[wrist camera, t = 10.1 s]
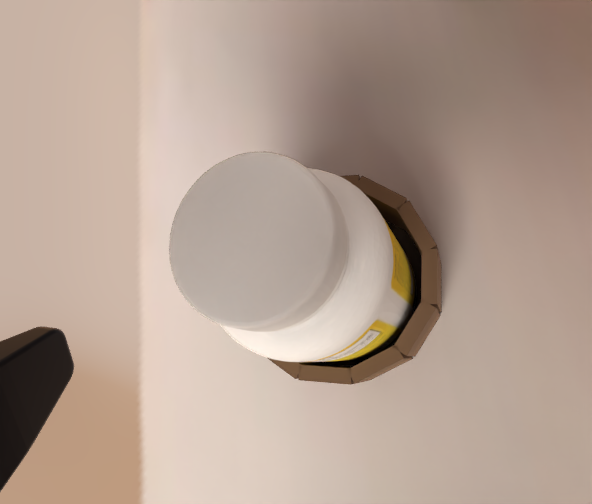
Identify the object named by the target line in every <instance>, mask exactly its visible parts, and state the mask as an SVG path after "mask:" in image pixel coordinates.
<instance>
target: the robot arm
mask: <svg viewBox="0 0 592 504" xmlns="http://www.w3.org/2000/svg"><path fill="white" fill-rule="evenodd" d="M73 370H74V363H73V360H72V356H71V353H70V350H69V347H68V344H67V340H66V337H65V335H64V333H63V332H62V331H61V330H59V329H57V328H49V327H36V328H34V329H31V330H28V331H26V332H24V333H21V334H19V335H16V336H13V337H11V338H8V339H6V340H3V341H1V342H0V492H1V490H2V489H3V487H4V486H5V484H6V483H7V482H8V480H9V479H10V477H11V476H12V474H13V473H14V472H15V470H16V469H17V467H18V466H19V464H20V463H21V461H22V460H23V459H24V457H25V456H26V454H27V453H28V451H29V449H30V448H31V446H32V444H33V443H34V441H35V440H36V438H37V436H38V434H39V432H40V431H41V429H42V427H43V426H44V424H45V422H46V420H47V419H48V417H49V415H50V413H51V412H52V410H53V408H54V407H55V405H56V403H57V401H58V399H59V398H60V396H61V394H62V393H63V391H64V389H65V387H66V386H67V384H68V382H69V381H70V379H71V377H72V374H73Z"/></svg>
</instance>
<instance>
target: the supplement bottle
mask: <svg viewBox="0 0 592 504" xmlns="http://www.w3.org/2000/svg"><path fill="white" fill-rule="evenodd" d="M169 254H170V264H171V269H172V273H173V276H174V279H175V282H176V284H177V286H178V288H179V290H180V292H181V293H182V295H183V296H184V298H185V299H186V300H187V302H188V303H189V304H190V305H191V306H192V307H193V308H194V309H195V310H196V311H197V312H199V313H200V314H201V315H202V316H204V317H206V318H207V319H209V320H211V321H213V322H215V323H217V324H220V325H221V326H222V328H223V329H224V330H225V331H226V332H227V333H228V334H229V335H230V337H232V338H233V339H234V340H235V341H236V342H238V343H239V344H240V345H241V346H243V347H245V348H246V349H248V350H250V351H252V352H254V353H256V354H259V355H261V356H264V357H267V358H270V359H274V360H280V361H286V362H323V361H353V360H360V359H364V358H368V357H371V356H373V355H376V354H378V353H380V352H382V351H383V350H385V349H387V348H388V347H389V346H391V345H392V344H393V343H394V342H395V341H396V340H397V339H398V338H399V337H400V335H401V333H402V332H403V330H404V329H405V327H406V325H407V324H408V322H409V320H410V319H411V317H412V315H413V312H414V308H415V303H416V293H417V290H416V280H415V275H414V271H413V268H412V266H411V263H410V261H409V259H408V257H407V255H406V254H405V252H404V250H403V249H402V247H401V246H400V244H399V243H398V241H397V239H396V238H395V236H394V235H393V233H392V231H391V230H390V228H389V226H388V225H387V223H386V221H385V220H384V218H383V217H382V215H381V214H380V212H379V211H378V209H377V207H376V206H375V205H374V204H373V203H372V201H371V200H370V199H369V198H368V197H367V196H366V195H365V194H364V193H363V192H362V191H361V190H360V189H359V188H358V187H356V186H355V185H353V184H352V183H351V182H349V181H347V180H346V179H344V178H342V177H340V176H338V175H335V174H333V173H329V172H326V171H323V170H318V169H313V168H306V167H305V166H304V165H302V164H301V163H299V162H297V161H296V160H294V159H292V158H289V157H287V156H284V155H280V154H276V153H271V152H250V153H245V154H240V155H236V156H233V157H231V158H228V159H226V160H224V161H222V162H220V163H218V164H217V165H215V166H213V167H212V168H211V169H209V170H208V171H207V172H205V173H204V174H203V175H202V176H201V177H200V178H199V179H198V180H197V181H196V182H195V183H194V184H193V186H192V187H191V188H190V189H189V191H188V192H187V194H186V195H185V197H184V198H183V200H182V202H181V204H180V206H179V208H178V210H177V212H176V215H175V218H174V221H173V224H172V229H171V233H170V245H169Z"/></svg>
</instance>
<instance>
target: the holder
mask: <svg viewBox="0 0 592 504" xmlns="http://www.w3.org/2000/svg"><path fill="white" fill-rule="evenodd" d="M340 177H342V178H344V179H346V180H347V181H349V182H351V183H352V184H353V185H355V186H356V187H358V188H359V189H360V190H361V191H362V192H363V193H364V194H365V195H366V196H367V197H368V198H369V199H370V200H371V201H372V203H373V204H374V205H375V206H376V207H377V209H378V211H379V212H380V214H381V215H382V217H383V218H384V219H385V220H387V221H389V222H390V223H392V224H394V225H396V226H398V227H400V228H402V229H403V230H405V231H407V233H408V234H409V236H410V238H411V239H412V241H413V243H414V244H415V246H416V248H417V249H418V251H419V253H420V254H421V256H422V273H421V303H420V304H419V306H418V307H417V309H416V311H415V312H414V314H413V316H412V317H411V319H410V320H409V322H408V324H407V325H406V327H405V329H404V330H403V332H402V333H401V335H400V337H399V338H398V340H397V342H396V343H395V345H394V346H392V347H390V348H388V349H386V350H384V351H382V352H380V353H378V354H377V355H375V356H373V357H371V358H369V359H367V360H365V361H363V362H361V363H359V364H357V365H355V366H347V365H333V364H324V363H323V362H286V361H280V360H274V359H270V358H268V359H269V360H271V361H272V362H273V363H275V364H276V365H277V366H279V367H280V368H281V369H283V370H284V371H285V372H287V373H288V374H290V375H291V376H292V377H294V378H295V379H297V378H299V380H305V381H316V382H328V383H340V384H355V383H360V382H364V381H368V380H371V379H373V378H375V377H377V376H379V375H381V374H383V373H385V372H387V371H389V370H391V369H393V368H395V367H397V366H399V365H401V364H403V363H405V362H407V361H409V360H411V359H413V358H412V356H416V354H417V353H418V351H419V349H420V348H421V346H422V344H423V343H424V341H425V340H426V338H427V336H428V335H429V333H430V331H431V330H432V328H433V327H434V325H435V323H436V322H437V320H438V319H439V317H440V314H439V312H441V261H440V257H439V253H438V249H437V245H436V244H435V242H434V240H433V239H432V237H431V235H430V234H429V232H428V230H427V229H426V227H425V226H424V224H423V222H422V221H421V219H420V217H419V216H418V214H417V213H416V211H415V209H414V208H413V206H412V204H411V203H410V201H407V198H405V197H403V196H401V195H399V194H397V193H395V192H393V191H391V190H389V189H387V188H385V187H383V186H381V185H379V184H377V183H376V182H374V181H372V180H370V179H368V178H366V177H364V176H362V177H361V178H360V176H359V175H350V176H340Z"/></svg>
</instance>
